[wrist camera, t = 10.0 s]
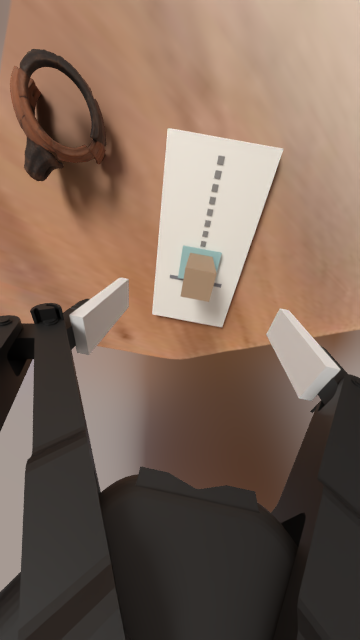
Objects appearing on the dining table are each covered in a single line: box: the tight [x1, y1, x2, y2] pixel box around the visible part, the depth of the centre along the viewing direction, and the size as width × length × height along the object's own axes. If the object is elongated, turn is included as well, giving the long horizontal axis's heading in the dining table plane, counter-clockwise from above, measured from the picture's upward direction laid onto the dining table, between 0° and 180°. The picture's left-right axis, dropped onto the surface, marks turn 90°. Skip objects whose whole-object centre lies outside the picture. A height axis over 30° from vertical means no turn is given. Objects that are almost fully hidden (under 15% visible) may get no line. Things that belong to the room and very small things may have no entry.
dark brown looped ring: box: [10, 49, 106, 181], centre depth 22 cm, size 12×10×8 cm
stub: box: [178, 245, 222, 302], centre depth 24 cm, size 6×5×10 cm
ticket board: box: [152, 128, 283, 327], centre depth 28 cm, size 14×26×2 cm, turn 171°
